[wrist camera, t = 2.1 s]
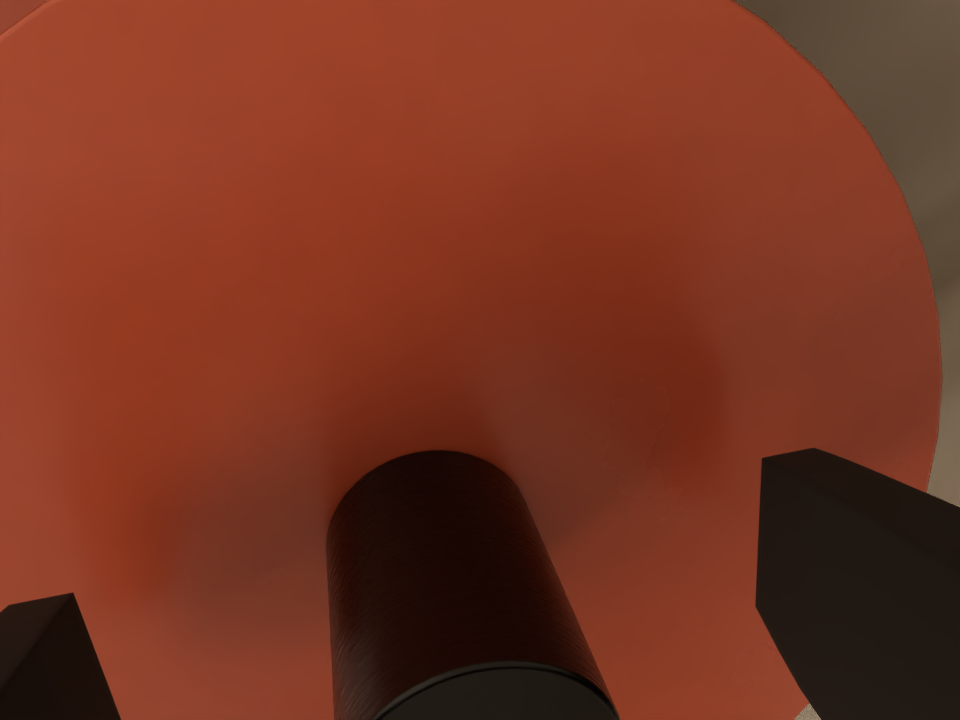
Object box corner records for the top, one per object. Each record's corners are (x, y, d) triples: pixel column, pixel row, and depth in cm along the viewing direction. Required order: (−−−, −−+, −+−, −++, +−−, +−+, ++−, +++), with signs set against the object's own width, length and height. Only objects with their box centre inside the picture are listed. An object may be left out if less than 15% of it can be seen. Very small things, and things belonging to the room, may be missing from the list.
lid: (345, 965, 15) (364, 1345, 10) (-475, 456, 9) (-1120, 851, 5) (1015, 509, 13) (1329, 741, 9) (555, -419, 8) (844, -871, 4)
